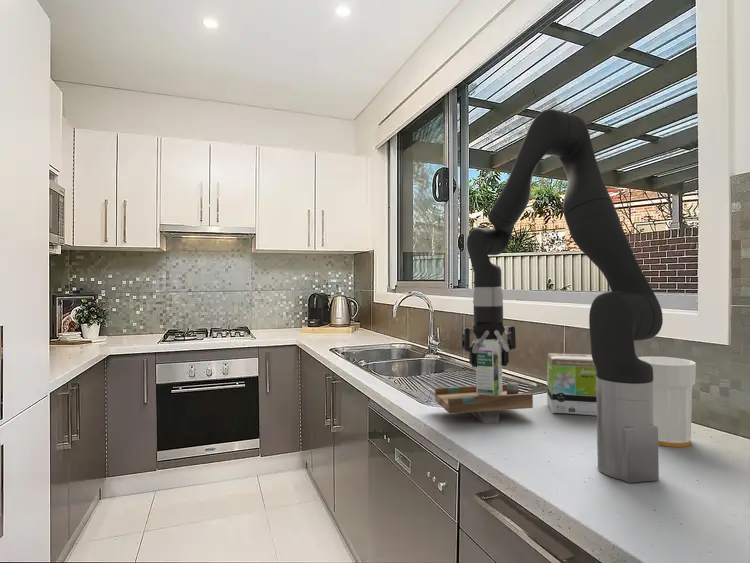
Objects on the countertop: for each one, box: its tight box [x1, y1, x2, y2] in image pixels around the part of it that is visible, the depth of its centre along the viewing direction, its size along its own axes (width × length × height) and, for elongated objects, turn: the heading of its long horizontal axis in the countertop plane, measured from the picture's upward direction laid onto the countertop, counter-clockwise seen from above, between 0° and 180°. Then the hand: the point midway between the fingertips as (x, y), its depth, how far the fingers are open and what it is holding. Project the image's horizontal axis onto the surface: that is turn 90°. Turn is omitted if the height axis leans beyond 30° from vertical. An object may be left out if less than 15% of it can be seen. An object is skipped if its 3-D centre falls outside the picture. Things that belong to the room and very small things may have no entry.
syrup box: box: [475, 339, 503, 396], centre depth 120 cm, size 6×6×14 cm
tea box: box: [546, 352, 597, 417], centre depth 123 cm, size 15×10×15 cm, turn 76°
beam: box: [434, 381, 534, 424], centre depth 120 cm, size 12×22×8 cm, turn 99°
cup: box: [637, 355, 697, 448], centre depth 100 cm, size 11×11×17 cm
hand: (489, 366), depth 120 cm, fingers closed on syrup box, 7 cm apart
